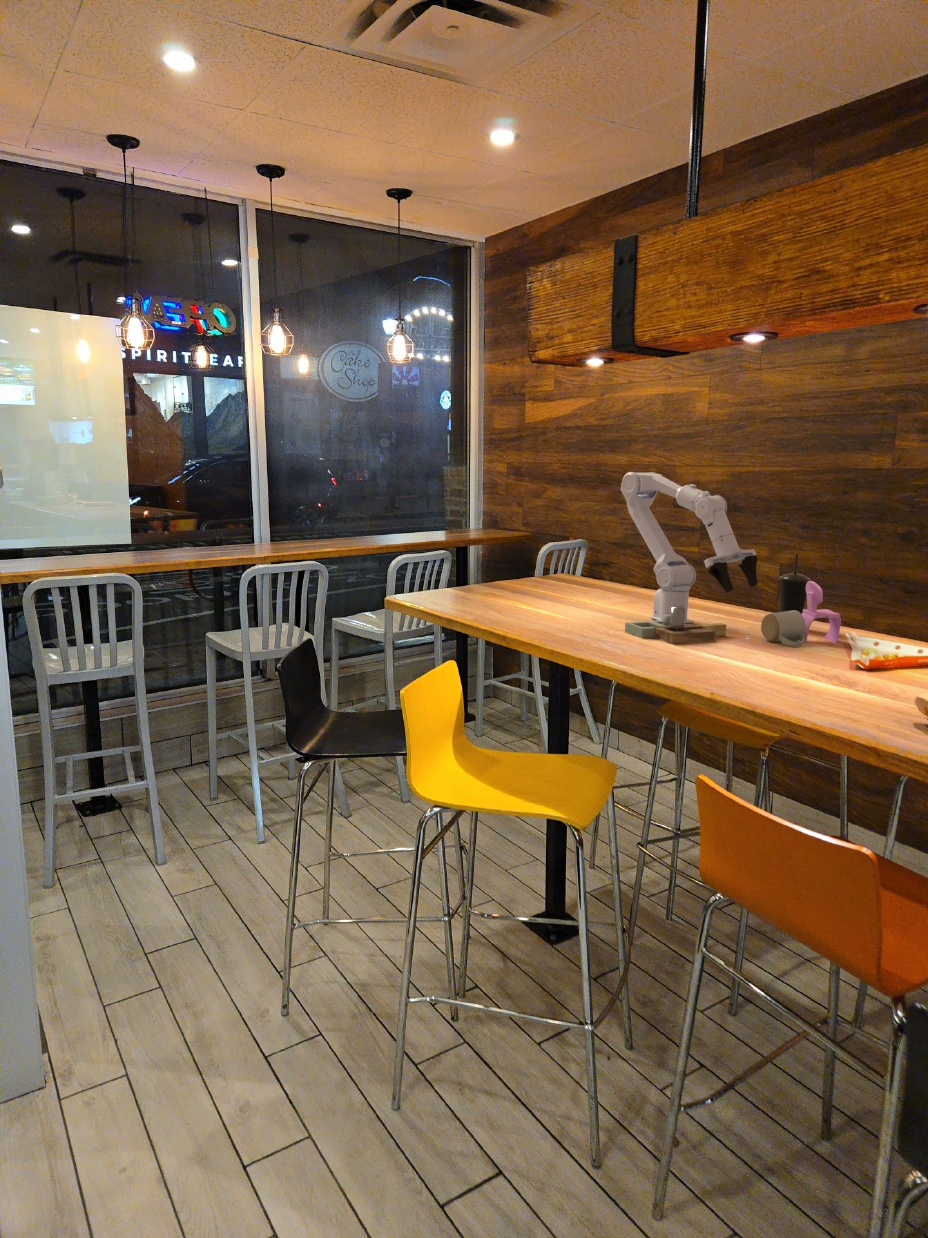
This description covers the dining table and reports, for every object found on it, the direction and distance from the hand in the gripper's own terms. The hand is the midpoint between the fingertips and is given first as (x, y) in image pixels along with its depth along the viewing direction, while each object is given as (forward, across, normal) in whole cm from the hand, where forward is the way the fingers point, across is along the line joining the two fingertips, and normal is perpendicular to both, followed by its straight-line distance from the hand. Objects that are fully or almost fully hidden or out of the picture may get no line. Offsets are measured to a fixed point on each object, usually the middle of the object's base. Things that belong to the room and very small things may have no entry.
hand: (742, 588), depth 210 cm
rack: (+4, -20, +13) cm, 24 cm away
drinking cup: (+11, +18, +10) cm, 24 cm away
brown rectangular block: (+9, -8, +7) cm, 14 cm away
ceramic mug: (+16, +5, -2) cm, 17 cm away
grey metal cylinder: (+8, -19, +7) cm, 21 cm away
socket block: (+8, -17, +7) cm, 20 cm away
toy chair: (+18, +14, -2) cm, 22 cm away
